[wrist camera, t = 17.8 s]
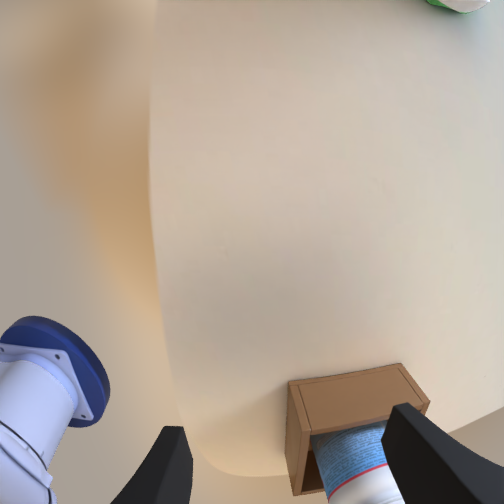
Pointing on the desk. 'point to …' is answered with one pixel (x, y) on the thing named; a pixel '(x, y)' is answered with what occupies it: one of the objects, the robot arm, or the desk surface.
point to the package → (340, 413)
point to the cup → (460, 4)
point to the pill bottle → (355, 466)
